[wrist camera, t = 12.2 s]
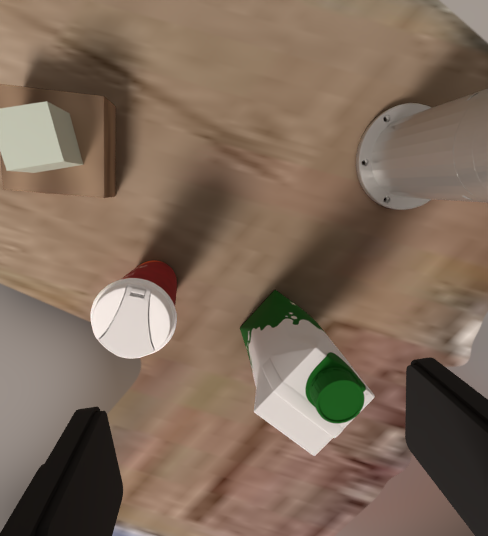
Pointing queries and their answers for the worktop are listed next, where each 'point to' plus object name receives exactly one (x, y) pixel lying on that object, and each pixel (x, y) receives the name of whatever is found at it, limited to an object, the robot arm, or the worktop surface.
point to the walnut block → (88, 138)
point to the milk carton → (300, 375)
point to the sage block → (37, 138)
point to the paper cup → (137, 311)
